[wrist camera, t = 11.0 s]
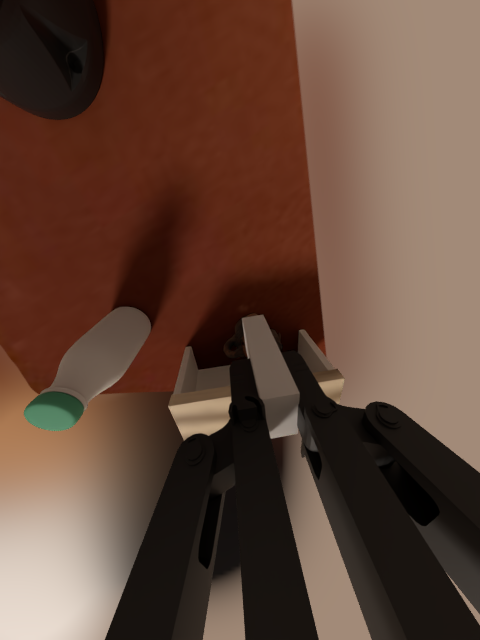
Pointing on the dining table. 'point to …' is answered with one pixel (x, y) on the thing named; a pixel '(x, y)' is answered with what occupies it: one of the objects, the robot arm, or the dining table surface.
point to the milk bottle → (90, 368)
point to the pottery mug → (239, 337)
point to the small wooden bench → (215, 392)
